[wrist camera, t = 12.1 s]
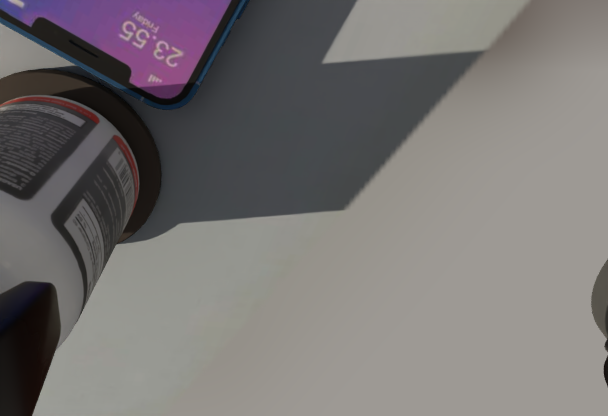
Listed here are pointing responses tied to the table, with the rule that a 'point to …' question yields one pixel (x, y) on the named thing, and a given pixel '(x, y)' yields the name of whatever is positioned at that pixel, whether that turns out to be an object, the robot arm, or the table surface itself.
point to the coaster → (111, 110)
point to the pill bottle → (61, 197)
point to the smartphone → (132, 40)
